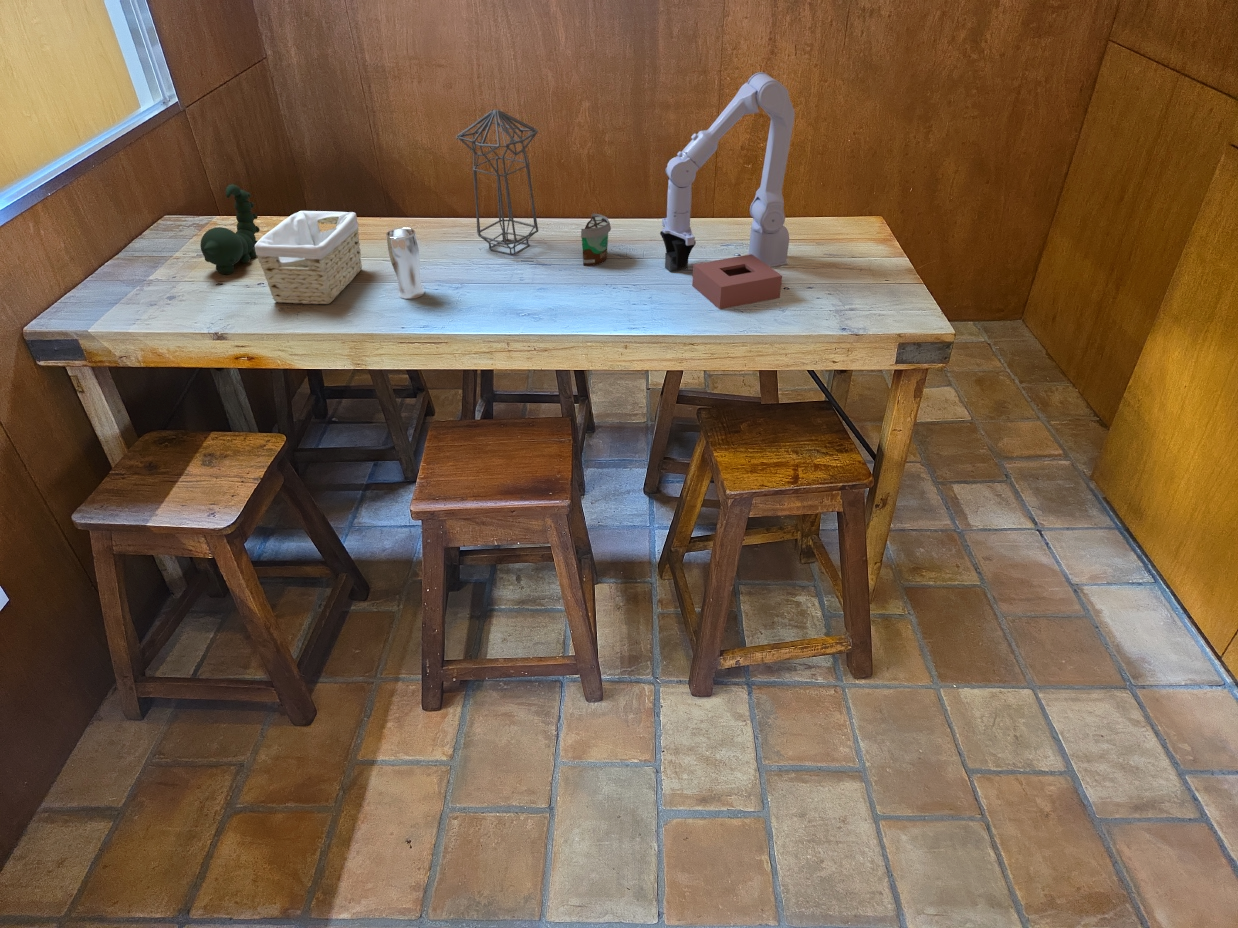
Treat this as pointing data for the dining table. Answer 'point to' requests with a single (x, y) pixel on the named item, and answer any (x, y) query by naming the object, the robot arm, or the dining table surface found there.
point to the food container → (595, 240)
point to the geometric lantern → (487, 123)
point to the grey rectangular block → (672, 262)
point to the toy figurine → (232, 236)
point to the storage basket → (310, 256)
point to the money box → (736, 281)
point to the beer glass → (405, 261)
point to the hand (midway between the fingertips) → (676, 263)
